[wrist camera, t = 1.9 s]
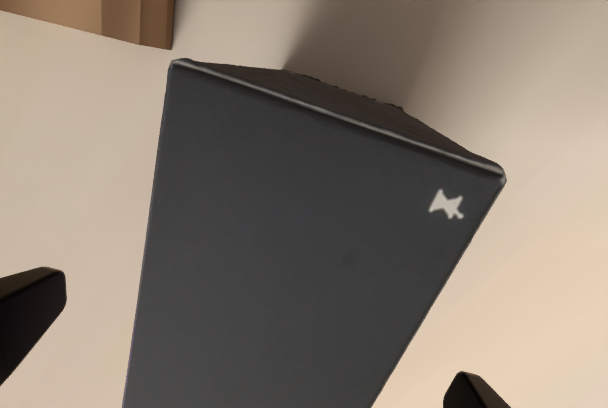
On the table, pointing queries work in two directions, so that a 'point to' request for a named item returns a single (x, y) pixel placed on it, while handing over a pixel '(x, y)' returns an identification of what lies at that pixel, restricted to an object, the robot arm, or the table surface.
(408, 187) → the small box
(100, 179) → the table surface
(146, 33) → the walnut holder
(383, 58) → the table surface
